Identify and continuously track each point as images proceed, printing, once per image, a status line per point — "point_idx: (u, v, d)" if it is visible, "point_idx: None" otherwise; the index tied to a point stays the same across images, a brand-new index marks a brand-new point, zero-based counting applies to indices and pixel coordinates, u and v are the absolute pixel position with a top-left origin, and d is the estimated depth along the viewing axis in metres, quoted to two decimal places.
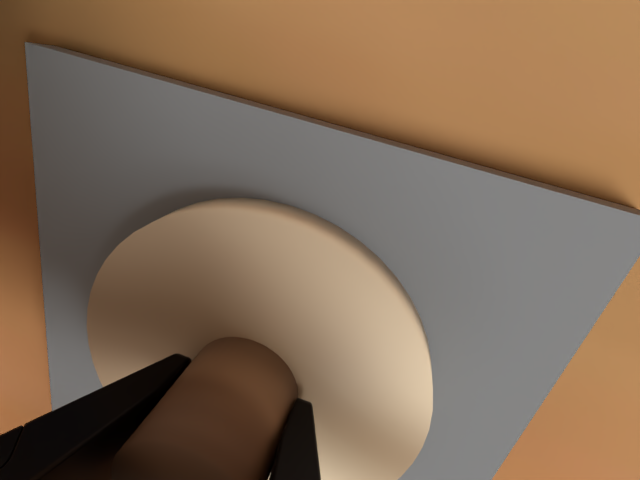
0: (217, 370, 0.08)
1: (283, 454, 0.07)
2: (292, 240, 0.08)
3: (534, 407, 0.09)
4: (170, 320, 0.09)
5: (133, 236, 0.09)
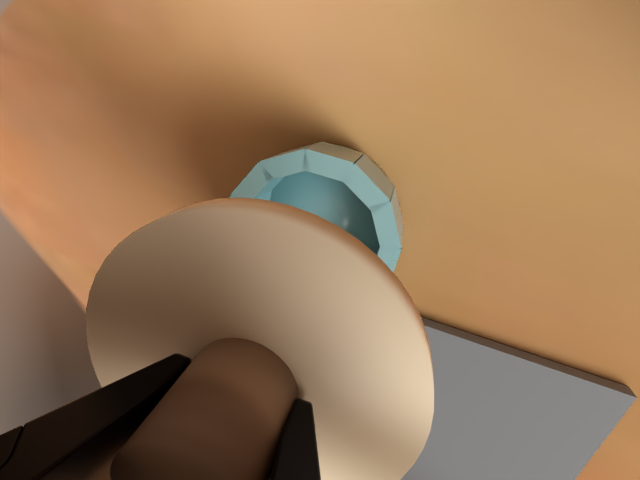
0: (217, 371, 0.08)
1: (283, 454, 0.07)
2: (291, 240, 0.08)
3: (585, 461, 0.21)
4: (169, 321, 0.09)
5: (132, 236, 0.09)
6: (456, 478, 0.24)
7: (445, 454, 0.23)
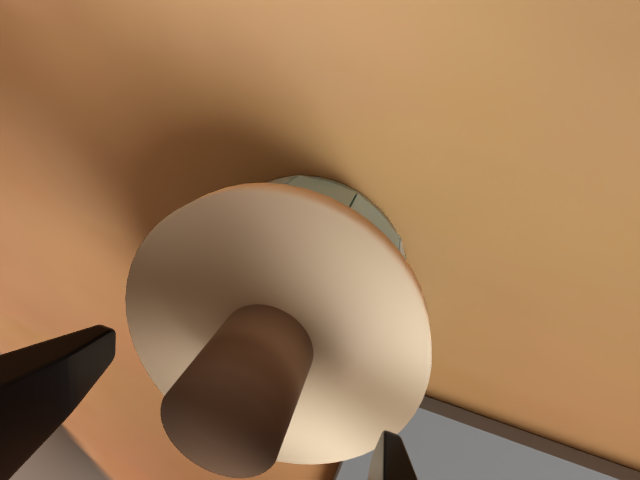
0: (246, 329, 0.09)
1: None
2: (310, 217, 0.09)
3: None
4: (201, 290, 0.11)
5: (171, 216, 0.10)
6: None
7: None
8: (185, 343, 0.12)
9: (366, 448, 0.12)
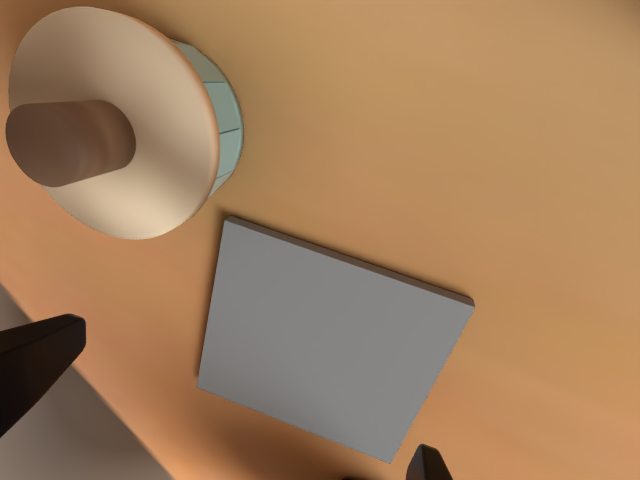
0: (74, 101, 0.14)
1: None
2: (116, 24, 0.14)
3: (436, 376, 0.22)
4: (57, 92, 0.15)
5: (30, 31, 0.15)
6: (322, 398, 0.24)
7: (308, 373, 0.24)
8: None
9: (181, 216, 0.16)
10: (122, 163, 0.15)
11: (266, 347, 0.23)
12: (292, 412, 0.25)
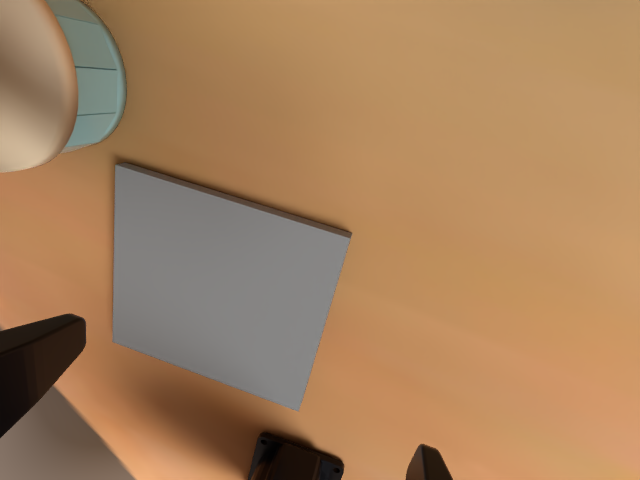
0: None
1: None
2: None
3: (327, 314, 0.22)
4: None
5: None
6: (226, 345, 0.25)
7: (211, 319, 0.24)
8: None
9: (44, 144, 0.17)
10: None
11: (169, 294, 0.24)
12: (202, 362, 0.26)
